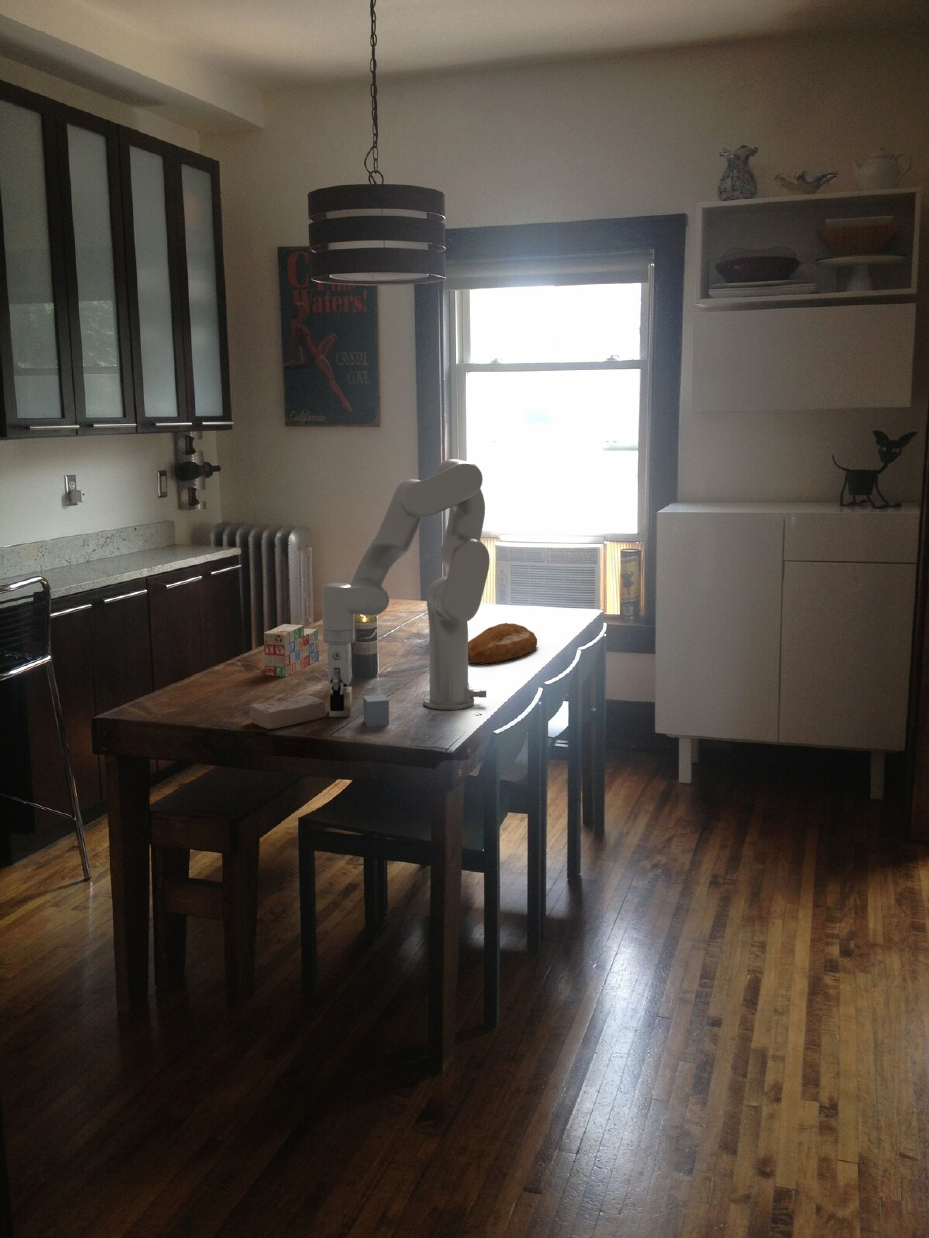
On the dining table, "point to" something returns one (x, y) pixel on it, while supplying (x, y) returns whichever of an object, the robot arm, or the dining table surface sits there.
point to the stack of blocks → (289, 649)
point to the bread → (501, 643)
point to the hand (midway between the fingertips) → (339, 705)
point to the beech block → (347, 703)
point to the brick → (287, 712)
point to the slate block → (376, 710)
